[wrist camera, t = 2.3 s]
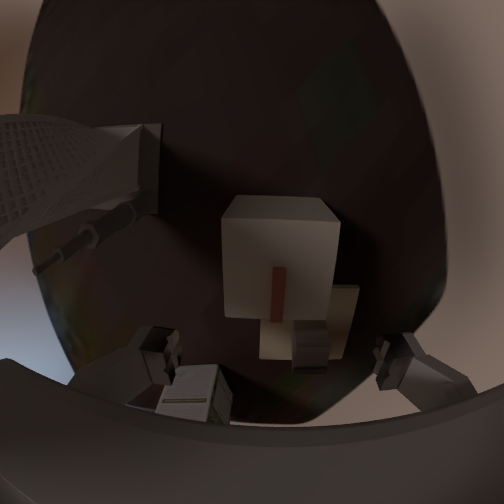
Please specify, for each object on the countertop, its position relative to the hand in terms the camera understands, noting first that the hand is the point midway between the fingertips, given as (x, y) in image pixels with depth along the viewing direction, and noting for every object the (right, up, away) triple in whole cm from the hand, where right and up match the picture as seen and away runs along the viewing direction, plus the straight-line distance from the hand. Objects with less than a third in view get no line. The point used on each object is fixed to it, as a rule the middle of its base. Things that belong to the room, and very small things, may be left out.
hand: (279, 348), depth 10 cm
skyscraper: (-12, +11, +9) cm, 19 cm away
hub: (+4, -3, +13) cm, 14 cm away
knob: (+1, +5, +10) cm, 11 cm away
